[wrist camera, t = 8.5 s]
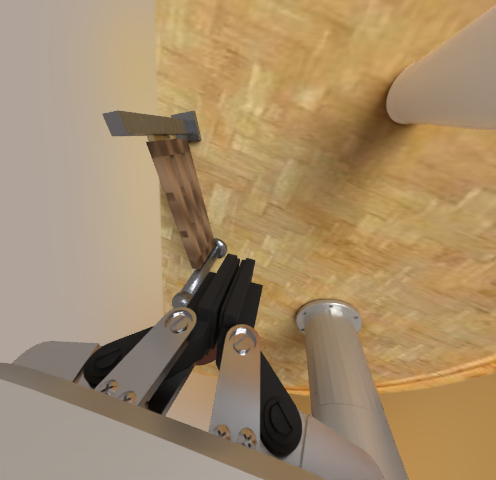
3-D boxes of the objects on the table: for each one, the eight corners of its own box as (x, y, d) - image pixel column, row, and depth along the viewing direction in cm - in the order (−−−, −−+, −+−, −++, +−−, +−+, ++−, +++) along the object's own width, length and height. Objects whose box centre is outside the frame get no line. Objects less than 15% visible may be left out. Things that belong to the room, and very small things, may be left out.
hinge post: (228, 256, 34) (197, 322, 22) (209, 256, 35) (169, 319, 23) (224, 238, 32) (188, 299, 20) (204, 238, 33) (157, 297, 21)
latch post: (203, 151, 25) (147, 162, 15) (182, 153, 26) (115, 166, 16) (195, 111, 23) (121, 94, 13) (172, 115, 24) (86, 102, 14)
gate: (215, 245, 31) (200, 268, 26) (209, 245, 32) (192, 268, 26) (187, 138, 23) (156, 140, 18) (179, 140, 24) (146, 142, 18)
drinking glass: (361, 112, 20) (489, 75, 7) (419, 30, 16) (877, -328, 4) (409, 143, 20) (605, 160, 8) (475, 72, 17) (1037, -113, 4)
